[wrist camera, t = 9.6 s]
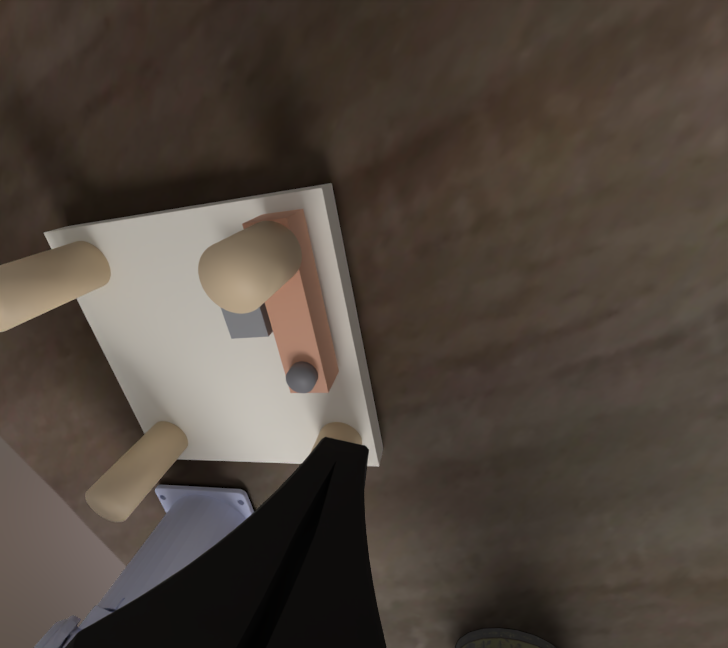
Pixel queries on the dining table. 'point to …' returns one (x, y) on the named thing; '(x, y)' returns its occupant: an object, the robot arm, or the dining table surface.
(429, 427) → the dining table surface
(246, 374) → the stool seat
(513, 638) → the thermos
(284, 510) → the robot arm
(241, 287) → the folding leg
